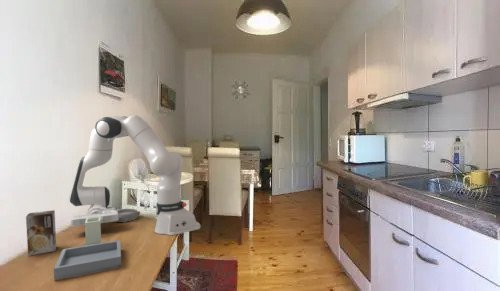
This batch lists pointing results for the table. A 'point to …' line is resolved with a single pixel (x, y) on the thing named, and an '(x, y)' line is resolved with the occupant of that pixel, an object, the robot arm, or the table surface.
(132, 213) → the dish
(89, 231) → the small tall open container
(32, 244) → the coffee box
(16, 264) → the table surface
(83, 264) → the grey tray
